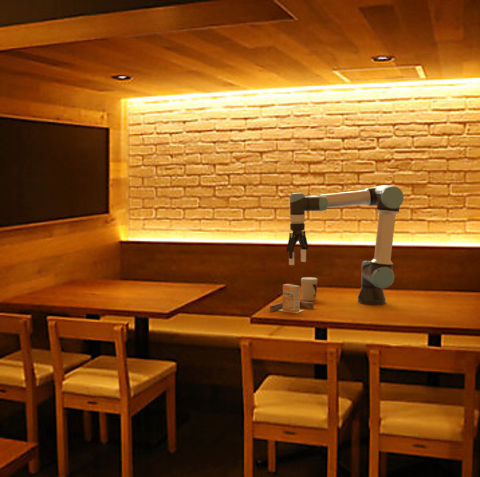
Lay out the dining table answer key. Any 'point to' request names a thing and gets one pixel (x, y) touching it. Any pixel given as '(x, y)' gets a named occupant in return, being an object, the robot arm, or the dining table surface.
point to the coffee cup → (309, 288)
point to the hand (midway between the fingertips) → (297, 263)
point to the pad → (290, 311)
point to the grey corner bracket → (302, 304)
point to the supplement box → (291, 297)
